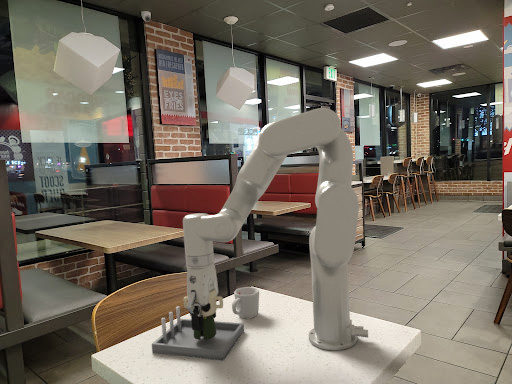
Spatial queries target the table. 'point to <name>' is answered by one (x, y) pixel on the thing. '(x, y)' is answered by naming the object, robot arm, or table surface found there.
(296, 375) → the table surface
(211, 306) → the character mug
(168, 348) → the dish rack
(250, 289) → the cup
